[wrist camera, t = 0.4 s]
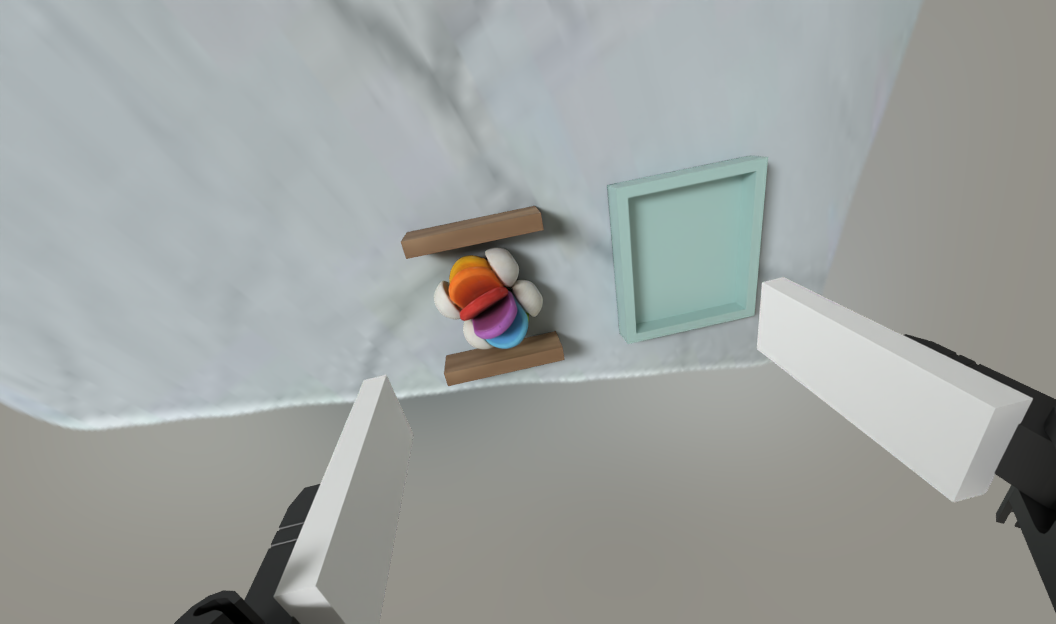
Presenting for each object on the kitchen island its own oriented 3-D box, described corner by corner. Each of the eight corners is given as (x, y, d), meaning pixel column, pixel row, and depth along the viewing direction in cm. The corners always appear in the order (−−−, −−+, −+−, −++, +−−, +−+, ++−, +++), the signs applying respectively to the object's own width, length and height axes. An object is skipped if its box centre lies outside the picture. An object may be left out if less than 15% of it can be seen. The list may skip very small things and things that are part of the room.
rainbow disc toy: (493, 228, 37) (498, 249, 30) (549, 303, 41) (564, 335, 34) (424, 280, 38) (414, 311, 31) (484, 347, 42) (487, 387, 35)
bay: (407, 232, 36) (400, 241, 32) (534, 205, 36) (540, 212, 33) (449, 367, 42) (448, 386, 39) (557, 343, 43) (564, 359, 39)
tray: (606, 185, 36) (616, 188, 34) (749, 155, 37) (768, 157, 35) (619, 333, 43) (627, 344, 41) (739, 306, 44) (754, 315, 41)
